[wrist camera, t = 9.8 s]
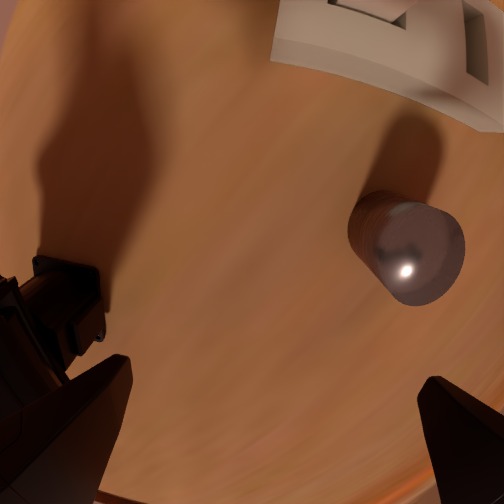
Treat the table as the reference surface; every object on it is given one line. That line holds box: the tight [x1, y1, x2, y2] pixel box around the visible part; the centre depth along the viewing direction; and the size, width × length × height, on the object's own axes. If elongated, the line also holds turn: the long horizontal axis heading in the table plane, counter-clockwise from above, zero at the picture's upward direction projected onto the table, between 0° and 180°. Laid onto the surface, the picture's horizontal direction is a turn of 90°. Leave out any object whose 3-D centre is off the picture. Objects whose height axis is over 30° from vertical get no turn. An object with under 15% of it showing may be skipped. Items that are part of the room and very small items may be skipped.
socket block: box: [270, 0, 504, 133], centre depth 12 cm, size 16×10×4 cm, turn 81°
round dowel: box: [348, 191, 465, 306], centre depth 15 cm, size 5×5×6 cm
